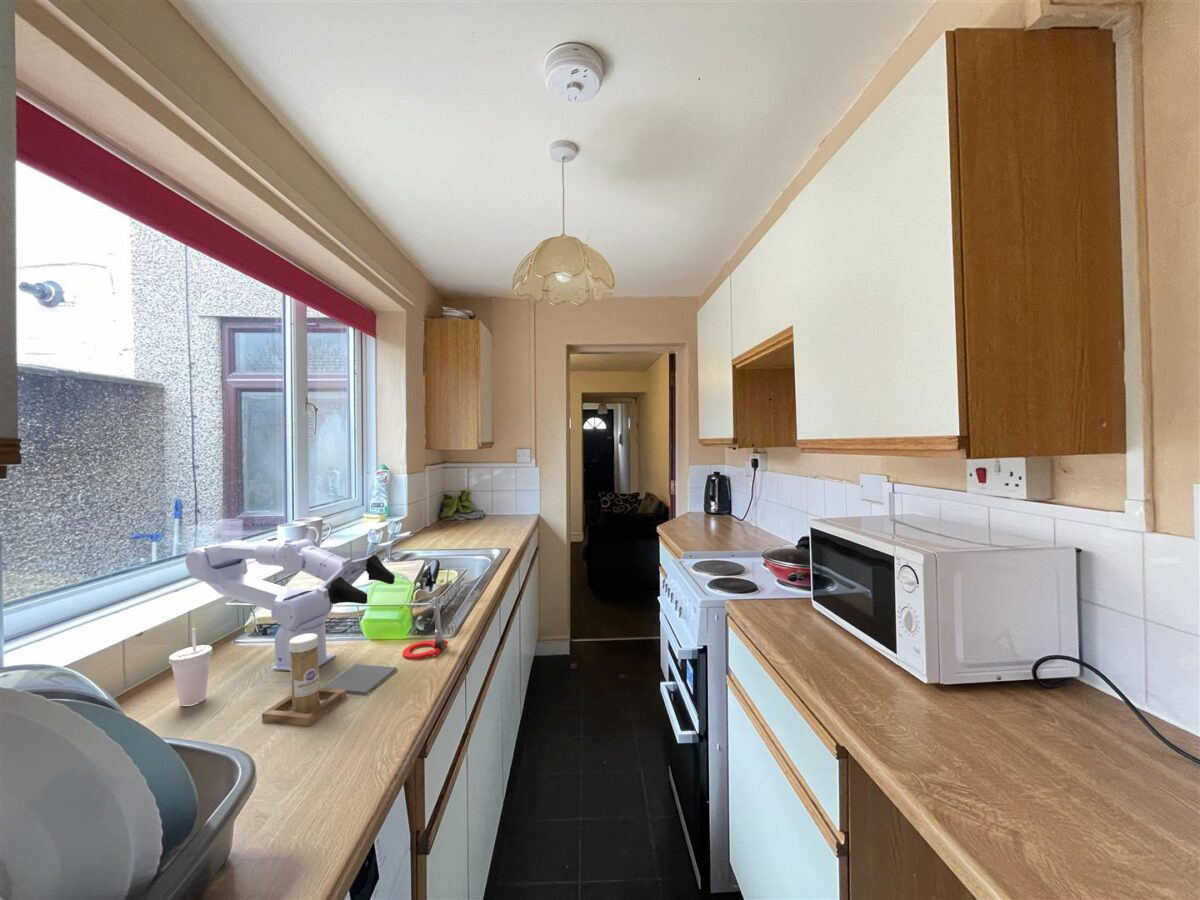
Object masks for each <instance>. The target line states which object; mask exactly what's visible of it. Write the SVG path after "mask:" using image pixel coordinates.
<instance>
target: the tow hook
mask: <svg viewBox="0 0 1200 900" xmlns="http://www.w3.org/2000/svg"><path fill="white" fill-rule="evenodd" d="M433 599H434V600H433V601H434V602H433V603H434V606H433V611H434V612H433V613H434V624H435V630H434V638H435V639H434V640H424V641H419V642H415V643H412V644H410V645H408V646H406V647H405V648H404V649H403V650H402V652H401V653H402V658H404V659H405V660H412V659H413V660H420V659H421V658H422V659H424V658H431V657H432V658H433V657H436V658H437V657H438V656H439V655H441V654H442V652H443V651H444V650H445V648H446V647H447V646H448V645H449V641H448V640H447V639H444V638H443V629H442V625H441V614H440V613H441V612H440V605H439V599H438V596H434V597H433ZM423 646H424V647H432V648H434V649H429V650H427V651H424V652H419V653H413V652H412V651H414V650H416V649H418V647H419V648H423ZM415 648H416V649H415ZM413 649H414V650H413Z"/></svg>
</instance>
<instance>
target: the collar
mask: <svg viewBox="0 0 1200 900" xmlns="http://www.w3.org/2000/svg"><path fill="white" fill-rule="evenodd" d="M322 687H323V686H322ZM322 687H320V686H319V700H324V701H323V702H320V705H318V706H317V707H316V708H314V709H313V710H312V711H310V712H309V713H298V712H292V711H288V709H290V708H291V707H292V696H291V694H288V696H286V697H285V698H283V699H282V700H280V701H279V702H277V703H276V704H274V705H272V706H271V707H269V708H268V709H266V710H264V711H263V712H262V713H261V722H262V723H271V724H280V725H291V726H300V727H310V726H311V725H313V724H314V723H315V722H317V721H318V720H319V719H320V718H321V717H323V716H324V715H326V714H327V713H328V712H330V711H331V710H332V709H333V708H335V707H336V706H338V704H340V703H341V702H342V701H343V700H346V698H347V696H348V695H347V693H346V689H334V688H322Z"/></svg>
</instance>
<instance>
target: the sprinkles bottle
mask: <svg viewBox="0 0 1200 900" xmlns="http://www.w3.org/2000/svg"><path fill="white" fill-rule="evenodd" d="M317 648H318V635H317V634H314V633H308V634H302V635H298V636H296V637H294V638H292V639H291V640H290V641H289V651H290V653H291V668H290V671H289V672H290V690H291V692H290V695H291V696H292V706H291V707H292V708H291V712H298V713H309V712H310V711H312V710H313V709H314V708H316V707H317V706H318V705H320V704H321V702H320V699H319V687H320V673H319V672H320V671H319V667H318V652H317Z"/></svg>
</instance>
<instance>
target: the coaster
mask: <svg viewBox="0 0 1200 900" xmlns="http://www.w3.org/2000/svg"><path fill="white" fill-rule="evenodd" d="M397 670H398V668H397V667H396V666H386V665H385V666H383V665H371V664H370V665H369V664H358V663H355V664H354V665H352V666H351V667H349V668H348V669H346V670H345V671H343V672H342V673H340V674H339V675H338V676H336V677H335V678H334V679H332V680H330V681H329V682H328V683H326V684H325V685H323V686H322V688H334V689H346V694H350V695H352V694H353V695H364V696H367V695H368V694H369V693H371V692H372V691H373V690H374V689H376V688H377V687H378V686H379V685H380V684H382V683H383V682H384V681H386V679H388V678H389V677H390V676H391V675H393V674H394V673H395V672H396V671H397Z"/></svg>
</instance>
